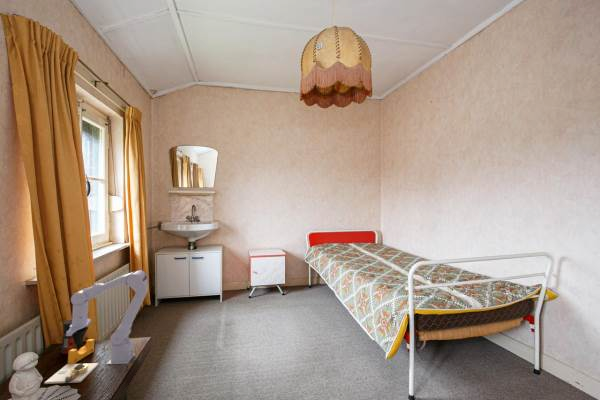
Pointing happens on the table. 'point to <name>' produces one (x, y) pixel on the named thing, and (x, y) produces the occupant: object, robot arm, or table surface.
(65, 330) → the deodorant
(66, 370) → the board
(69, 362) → the pipe clamp
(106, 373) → the table surface
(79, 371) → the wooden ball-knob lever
